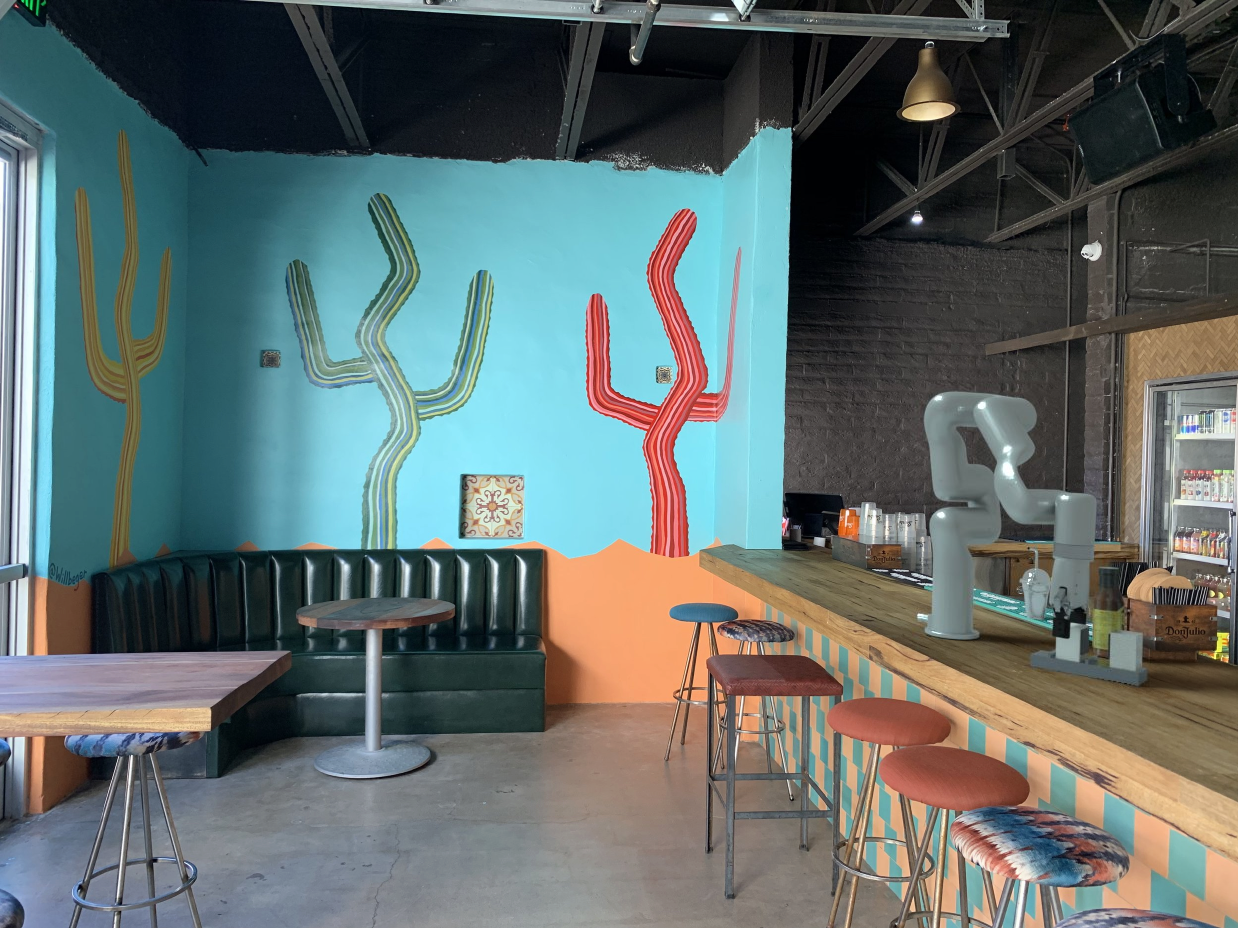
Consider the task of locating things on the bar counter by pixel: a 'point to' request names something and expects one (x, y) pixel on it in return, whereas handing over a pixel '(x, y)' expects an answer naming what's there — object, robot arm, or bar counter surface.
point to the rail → (1120, 668)
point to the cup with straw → (1035, 590)
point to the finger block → (1074, 644)
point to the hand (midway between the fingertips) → (1069, 633)
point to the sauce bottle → (1107, 610)
